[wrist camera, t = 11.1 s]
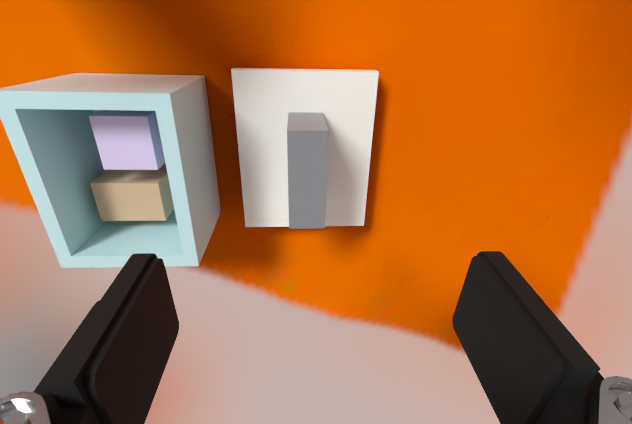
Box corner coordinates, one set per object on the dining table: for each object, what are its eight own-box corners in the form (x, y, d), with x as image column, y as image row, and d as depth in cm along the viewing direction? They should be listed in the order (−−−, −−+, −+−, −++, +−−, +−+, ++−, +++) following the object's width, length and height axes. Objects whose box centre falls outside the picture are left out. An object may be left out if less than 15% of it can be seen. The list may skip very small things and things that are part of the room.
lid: (235, 66, 22) (215, 79, 17) (373, 68, 23) (398, 81, 17) (248, 215, 27) (236, 263, 22) (359, 214, 28) (375, 260, 22)
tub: (76, 72, 22) (-11, 90, 16) (204, 75, 22) (169, 93, 16) (116, 211, 26) (61, 267, 20) (221, 211, 27) (198, 266, 21)
